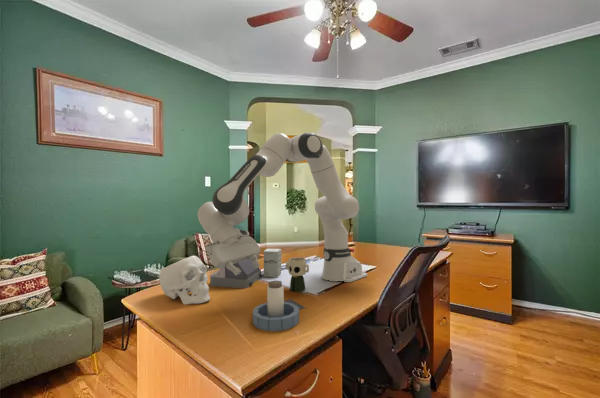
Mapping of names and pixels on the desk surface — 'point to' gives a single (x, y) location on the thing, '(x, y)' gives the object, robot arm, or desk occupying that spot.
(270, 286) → the salt mill
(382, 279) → the desk surface
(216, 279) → the instant camera
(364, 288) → the desk surface
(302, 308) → the mat
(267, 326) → the bowl
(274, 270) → the supplement box
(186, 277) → the skull planter
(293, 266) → the character mug
